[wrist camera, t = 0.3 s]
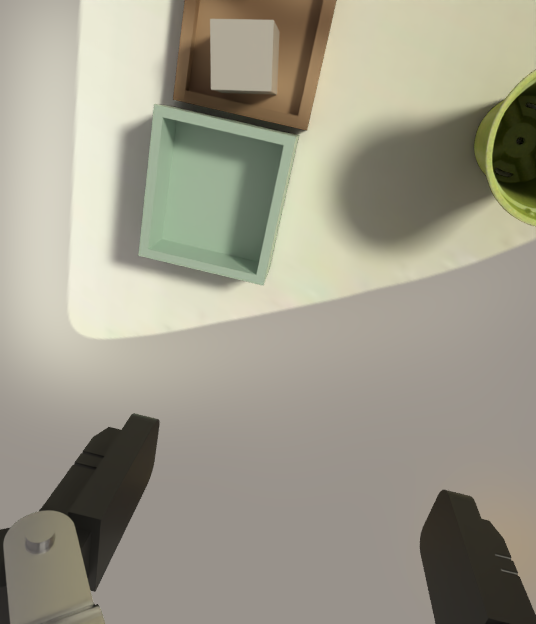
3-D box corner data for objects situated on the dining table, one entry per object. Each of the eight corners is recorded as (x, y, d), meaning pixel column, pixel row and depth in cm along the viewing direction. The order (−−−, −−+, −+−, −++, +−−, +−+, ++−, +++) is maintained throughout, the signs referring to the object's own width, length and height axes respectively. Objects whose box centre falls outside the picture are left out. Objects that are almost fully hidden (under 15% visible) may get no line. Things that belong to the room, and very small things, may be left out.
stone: (222, 30, 33) (210, 18, 29) (279, 31, 32) (273, 19, 29) (223, 93, 34) (210, 89, 31) (277, 94, 34) (271, 91, 30)
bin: (171, 106, 36) (154, 104, 32) (299, 135, 35) (296, 136, 32) (155, 243, 40) (138, 255, 36) (269, 270, 40) (263, 285, 36)
